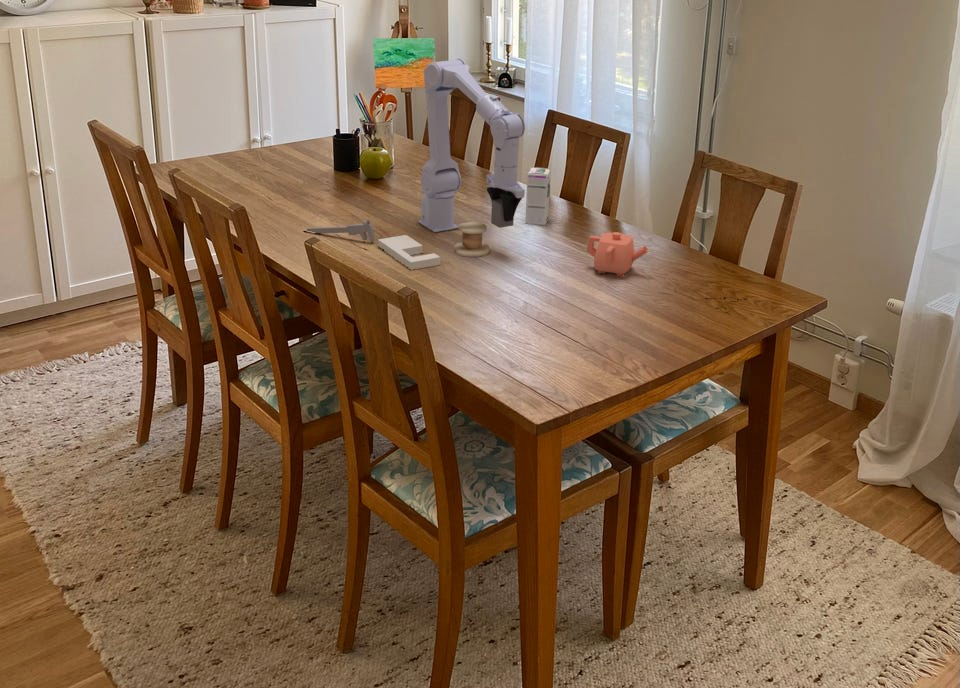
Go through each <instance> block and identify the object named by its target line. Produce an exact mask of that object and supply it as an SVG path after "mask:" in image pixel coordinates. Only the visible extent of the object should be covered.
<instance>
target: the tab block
mask: <svg viewBox="0 0 960 688" xmlns="http://www.w3.org/2000/svg"><path fill="white" fill-rule="evenodd" d="M490 214H491V218H490V223H491V224H492V225H494V226H496V227H497V228H499V229H501V228H507V227H512V226H514V218H513V221H507V222H506V221H504V213H503V203H502V200H501V199H495V200H492V201H491V213H490Z"/></svg>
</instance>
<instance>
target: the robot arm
mask: <svg viewBox="0 0 960 688" xmlns="http://www.w3.org/2000/svg"><path fill="white" fill-rule="evenodd" d="M423 77H424V80H423V82H424V92H425V100H426V114H427V129H428V131H427V132H428V144H429V148H428V149H429V159H428V160H427V161H426V162H425V163H424V164H423V166H422V168H421V178H420V186H421V189H422V191H423V194H422V197H421V200H420V201H421V205H420V207H421V210H420V213H421V214H420V215H421V216H420V218H421V219H420V220H418V223H419V224H420V225H422V226H423V227H425V228H427V229H428V230H430V231H432V232H433V233H439V232H445V231H450V230H457V229H459V225H460V224H456V223H455V195H457V194H458V193H457V192H458V190H460V188H461V185H462V177H461V173H460V170H459V164H458V162H456V161H455V160H454V159H452V158H451V143H450V128H449V113H448V112H449V111H448V109H449V107H448V96H450V95H451V93H452V92H453V91H454V90H456V89H459V90H460V91H461V92H462V93H463V94H464V95H465V96H466V97H467V98H468V99H470V100H471V101H472V102H473V103H474V104H476V105H475V111H476V113H478V115H479V116H480V117H481V119H483V120H484V121H485V123H486V124H487V125H489V127H490V133H491V136H492V139H493V141H492V143H493V146H494V160H493V161H494V165H493V173H492V174H486V175H485V176H486V181H485V182H486V184H489V187H487V188H486V192H487V193H488V195H489V198H490V201H491V202H492V200H495V199H501V200H502V203H503V213H504V221H506V222H507V221H513V222H514V220H513V218H514V217H515V214H516V211H517V208H518V206H519V204H520V203H521V201H522V199H523V198H525V196H526V195H525V193H526V191H525V190H526V189H524V188H523V187H522V186H521V185H520V184H519V182H518V170H519V169H518V167H519V166H518V165H519V152H520V151H519V149H520V147H519V146H520V138H521V137H522V136H524V133H525V129H526V125H525V120H524V119H523V116H521V114H520V113H518V112H512V111H509V109H508V108H507V107H506V106H504V104H503V103H502V102H501V101H500V100H499V99H498V98H499V97H498V96H497V95H496V94H491V93H488V94H487V93H486V92H485V91H484V89H483V88H482V87H481V85H480V84H479V83H478V82H477V80H476V79H475V78H474V77H473V75H472V74H471V67H470V65H468V64H467V63H466V61H465V60H464V59H462V58H456V59H452V60H451V59H450V60H442V61H431V62H429V63H428V64H427V65H426V66H425V67H424V69H423Z"/></svg>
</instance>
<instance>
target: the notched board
mask: <svg viewBox="0 0 960 688" xmlns="http://www.w3.org/2000/svg"><path fill="white" fill-rule="evenodd" d="M378 245H379V246H380V247H381V248H383V249H384V250H385V251H387V252H388V253H389V254H390V255H391V256H390V255H389V254H388V255H389V256H390V257H392V256H393V257H394V258H393V257H392V258H393V259H395V260H396V259H397V260H398V261H397V260H396V261H397V262H399V263H400V262H401V263H400V264H402V265H403V264H404V265H405V266H404V265H403V266H404V267H406V268H407V267H408V268H407V269H409V270H410V269H411V270H410V271H413V270H414V269H415V270H418V269H419V270H420V269H425V268H430V267H435V266H440V265H441V256H439V255H438V254H436V253H435V252H434V253H428V254H423V253H424V248H423V247H424V246H423V245H422V244H421V243H420V242H418V241H416V240H415V239H413V238H412V237H410V236H408V235H407V234H403V235H398V236H392V237H386V238H379V239H377V246H378ZM385 251H384V252H385ZM420 253H421V255H420ZM414 254H415V256H414ZM422 254H423V255H422Z"/></svg>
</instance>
